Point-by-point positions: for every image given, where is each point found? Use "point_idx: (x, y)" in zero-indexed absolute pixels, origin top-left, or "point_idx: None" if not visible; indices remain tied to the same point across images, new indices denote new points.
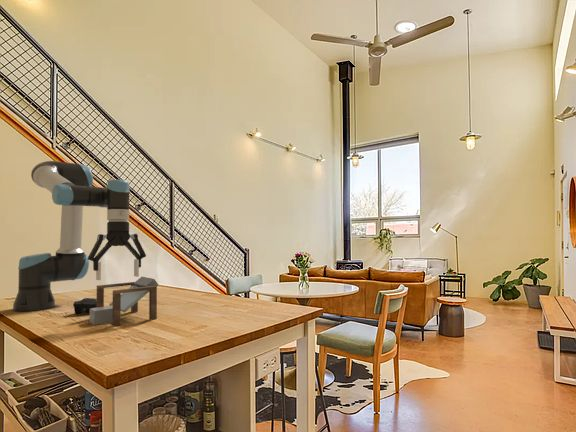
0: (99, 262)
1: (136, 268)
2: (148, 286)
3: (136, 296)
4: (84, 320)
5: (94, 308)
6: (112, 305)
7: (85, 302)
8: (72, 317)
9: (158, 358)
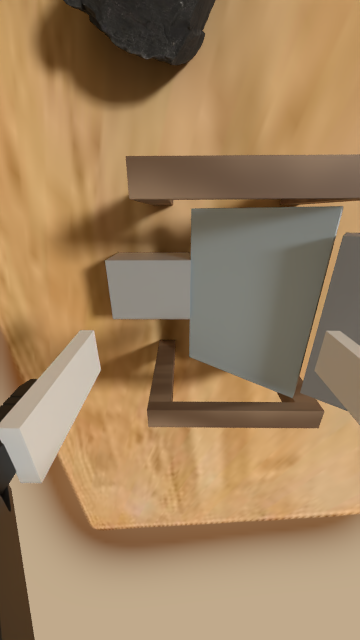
0: (32, 477)
1: (349, 406)
2: (297, 410)
3: (249, 360)
4: (108, 209)
5: (120, 272)
6: (189, 261)
7: (115, 8)
8: (74, 96)
9: (151, 523)
